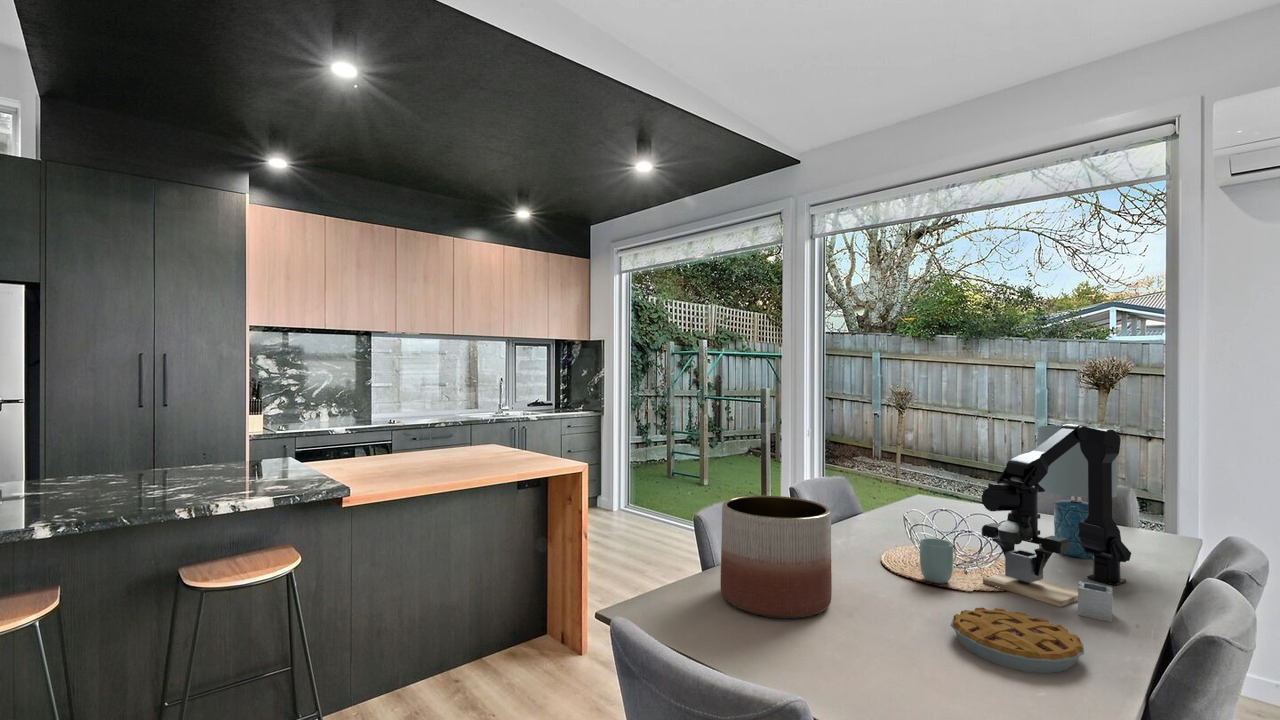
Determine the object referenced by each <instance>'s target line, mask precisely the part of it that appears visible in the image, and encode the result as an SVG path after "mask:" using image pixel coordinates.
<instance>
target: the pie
mask: <svg viewBox="0 0 1280 720" xmlns="http://www.w3.org/2000/svg"><path fill="white" fill-rule="evenodd" d="M950 627H951V628H952V629H953V630H954V632H955V634H956V637H957V639H958V641H959V642H960V643H961V645H962V646H963V647H964V648H966V650H969V651H970V652H972V653H973V654H975V655H976V656H979V657H980V658H982V659H984V660H987V661H989V662H992V663H995V664H997V665H1000V666H1002V667H1005V668H1009V669H1014V670H1017V671H1021V672H1024V673H1037V674H1051V673H1059V672H1065V671H1067V670H1068V669H1070V668H1071V667H1073V666H1074V665H1075V664H1076V662H1077V661H1078V660H1079V658H1080V657H1081V656H1084V654H1085V646H1084V643H1083V642H1082V641H1081V638H1080V637H1079V636H1078V635H1077V634H1073V633H1071V632H1069V630H1068V629H1066V628H1065V627H1064V626H1062V625H1061V624H1056V625H1055V624H1054V623H1053V624H1052V623H1050V622H1049V619H1045V618H1041V617H1034V616H1033V617H1032V616H1030V615H1027V613H1025V612H1019V611H1015V612H1014V611H1007V610H1006V609H1004V608H997V607H996V608H994V609H986V608H985V607H976V608H975V609H974V610H967V609H964V610H961V611H960V613H959V614H958V613H954V615H953V619H952V621H951V623H950Z"/></svg>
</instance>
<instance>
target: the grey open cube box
mask: <svg viewBox="0 0 1280 720" xmlns="http://www.w3.org/2000/svg"><path fill="white" fill-rule="evenodd" d="M1077 590H1078V601H1077V615H1078V616H1081V617H1085V618H1090V619H1095V620H1098V621H1099V620H1100V621H1104V622H1110V623H1113V586H1110V585H1109V586H1108V585H1103V584H1098V583H1092V582H1087V581H1083V580H1082V581H1081V580H1079V582H1078V586H1077Z"/></svg>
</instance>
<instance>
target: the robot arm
mask: <svg viewBox="0 0 1280 720" xmlns="http://www.w3.org/2000/svg"><path fill="white" fill-rule="evenodd" d="M1061 426H1062V427H1061V429H1060V430H1059V431H1058V432H1056V433H1055V434H1054V435H1053V436H1051V437H1050V438H1049V439H1047V440H1046V441H1045V442H1044V443H1042V444H1041V445H1040V446H1038V445H1037V447H1036V448H1034V449H1033V450H1032V451H1030V452H1026V453H1022V454H1019V455H1017V456H1015V457H1013V458H1011V459H1009V460H1008V461H1007V463H1006V466H1005V468H1004V469H1003V471H1002V473H1001V474H1000V476H999V477H998V479H997V481H996V483H995V482H991V483H988V485H987V488H985V490H983V492H982V495H981V503H982V504H983V506H984V507H985V509H986V510H987V511H989V512H1008V511H1010V512H1008V514H1007V520H1006V521H1003V522H1002V523H995V522H990V523H987V524H984V525H983V526H982V527H981V536H982V537H986V538H991V540H992V542H995V543H996V544H997V545H998V546H999V548H1000V549H1001V551H1002V553H1003V556H1004V557H1005V552H1007V551H1011V550H1015V545H1021V544H1022V542H1027V543H1031V544H1034V545H1035V544H1036V545H1038V547H1037V548H1036V549H1034V553H1036V575H1037V576H1039V575H1040V574H1041V572H1042V570H1043V571H1044V568H1045V566H1046V564H1047V563H1048V561H1049V559H1050V557H1051V556H1052V555H1053V554H1054V553H1055V554H1057V555H1058V554H1059V555H1061V554H1062V553H1064V552H1068V551H1071V543H1070V542H1069V540H1068V539H1066V538H1061V537H1057V536H1055V535H1050V536H1045V537H1043V536H1040V535H1041V530H1039V528H1038V525H1039V523H1038V522H1039V520H1040V519H1041V514H1040V513H1039V511H1038V506H1039V504H1038V500H1039V498H1038V497H1039V496H1038V494H1039V493H1044V492H1046V491H1045V489H1044V488H1043V487H1041V486H1040V485H1039V484H1038V483H1039V482H1040V481H1041V480H1042V479H1043V478H1044V477H1045V476H1046V474H1047V473H1048V467H1049V466H1050V465H1051V464H1052V463H1053V462H1054V461H1056V460H1057V459H1058V458H1059V457H1061V456H1062V455H1063V454H1064V453H1066V452H1067V451H1068V450H1069V449H1071V448H1072V447H1073V446H1075V445H1076V444H1077V443H1080V449H1081V452H1082V453H1083V455H1084V456H1085V458H1086V459H1087V461H1088V498H1087V499H1088V501H1087V502H1088V517H1087V518H1086V520H1085V521H1084V522H1079V535H1078V537H1080V541H1081V543H1082V545H1083V549H1084V552H1086V553H1090V554H1093V558H1092V574H1090V575H1087V576H1086V578H1087V579H1088V580H1093V581H1096V582H1101V583H1105V584H1107V585H1108V584H1109V585H1113V586H1118V585H1121V584H1123V583H1126V582H1127V579H1125V578H1122V577H1121V563H1127V562H1129V561H1130V559H1131V557H1132V556H1131V555H1132V552H1131V550H1130V549H1129V548H1128V547H1127V546H1126V545H1125V543H1124V542H1123V540H1122V537H1121V530H1120V528H1119V526H1118V525H1117V524H1116V522H1115V520H1114V519H1113V498H1112V462H1113V461H1114V459H1115V458H1116V457H1117V458H1118V455H1119V454H1120V451H1121V450H1120V449H1121V448H1120V447H1121V437H1120V434H1118V432H1117V433H1116V431H1114V430H1115V429H1113V430H1111V429H1112V428H1105V429H1100V428H1101V427H1095V428H1090V427H1091V426H1085V425H1082V424H1074V423H1065V424H1063V425H1061ZM1038 519H1039V520H1038Z"/></svg>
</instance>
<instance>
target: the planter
mask: <svg viewBox="0 0 1280 720" xmlns="http://www.w3.org/2000/svg"><path fill="white" fill-rule="evenodd" d="M720 548H721V549H720V551H721V552H720V593H721V595H722V597H723V598H724V599H725V601H727V602H728V603H729V604H730V605H733V606H734V607H736V608H738V609H740V610H741V611H744V612H747V613H750V614H754V615H757V616H763V617H765V618H766V617H768V618H775V619H799V618H800V619H801V618H806V617H811V616H815V615H817V614H820V613H821V612H823V611H825V610H826V609H827V608H829V607H830V605H831V603H832V592H833V591H832V590H833V589H832V588H833V587H832V584H833V583H832V579H833V578H832V510H831V508H829V506H827V505H826V504H823V503H821V502H816V501H813V500H810V499H803V498H798V497H794V496H793V497H791V496H782V495H781V496H780V495H745V496H738V497H737V496H736V497H733V498H728V499H726V500H725V501H723V503H722V506H721V547H720Z"/></svg>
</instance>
